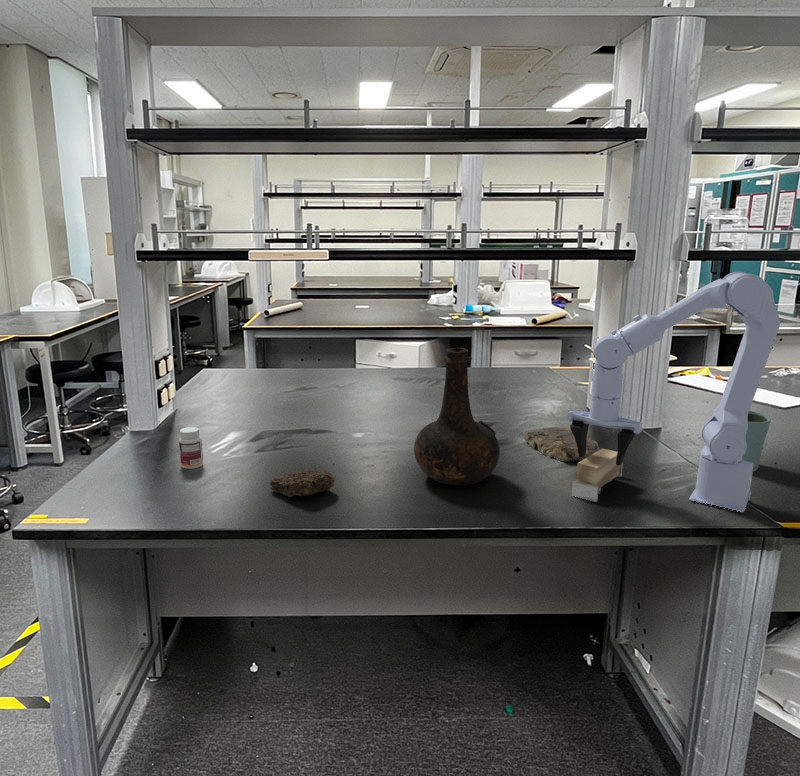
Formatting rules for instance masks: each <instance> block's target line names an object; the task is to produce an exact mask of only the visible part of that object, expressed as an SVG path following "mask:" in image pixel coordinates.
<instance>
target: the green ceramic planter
mask: <svg viewBox="0 0 800 776" xmlns="http://www.w3.org/2000/svg"><path fill="white" fill-rule="evenodd" d="M771 421H772V420H771V418H770V417H769V416H768V415H766V414H764V413H761V412H757V411H753V410H749V412H748V430H747V433H746V438H745V439H746V444H747V448H746V452H745V454H744V455H743V456H742V460H744V461H747V462H750V463H753V472H756V471H758V468H759V466H760V460H761V456H762V453H763V450H764V445H765V441H766V437H767V435H768V433H769V432H768V431H769V429H770V424H771Z"/></svg>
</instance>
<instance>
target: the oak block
mask: <svg viewBox="0 0 800 776" xmlns="http://www.w3.org/2000/svg"><path fill="white" fill-rule="evenodd" d="M617 452H618V451H615V450H610V449H608V448H600V450H599V451H597V452H596V453H594V454H592V455H591V456H589V457H587V458H585V459H584V460H582V461H580V462H577V465H576V466H577V467H576V476H575V477H576V479H575V481H577V482H581V483H586V484H590V485H594V486H598V487H599V488H602V487H604V486H605V485H606V484H608V483H610V482H609V481H611V480H612V481H613V479H615V478H617V476H618V475H619V467H620V466H619V465H616V458H617Z"/></svg>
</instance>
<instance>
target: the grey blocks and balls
mask: <svg viewBox="0 0 800 776" xmlns="http://www.w3.org/2000/svg"><path fill="white" fill-rule="evenodd" d="M623 464H624V462H622V464H621V465H620V467H619V475H618V476H616V478H617V477H618V478H621V477H622V474H623V466H624V465H623ZM612 482H613V479H612V480H611V481H609V482H608V483H612ZM601 488H602V487H601ZM601 488H599V487H598V486H594V485H590V484H586V483H581V482H577V481H576V480H573V481H572V486H571V496H570V497H573V496H575V497H574V498H577V497H578V499H581V498H582V499H581V500H585V499H586V501H589V500H590V502H594V503H597V502H598V501H599V495H601ZM598 494H599V495H598Z"/></svg>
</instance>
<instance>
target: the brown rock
mask: <svg viewBox="0 0 800 776" xmlns="http://www.w3.org/2000/svg"><path fill="white" fill-rule="evenodd" d="M269 485H270V490H271V491H274V492H275V493H280V495H281V494H282V495H284V496H286V497H288V498H290V497H294V496H299V497H302V496H304V497H305V496H311V495H314V494H315V495H316V494H317V493H321V492H322V493H323V492H325V491H330V490H331V488H332V487H334V486H335V477H334V476H333V474H332V472H331V471H327V470H324V471H318V470H317V469H315V470H313V469H303V470H302V471H297V472H291V473H289V474H285V475H284V474H283V475H282V476H278V477H275V478H273V479H272V480H271V481H270V482H269Z"/></svg>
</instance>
